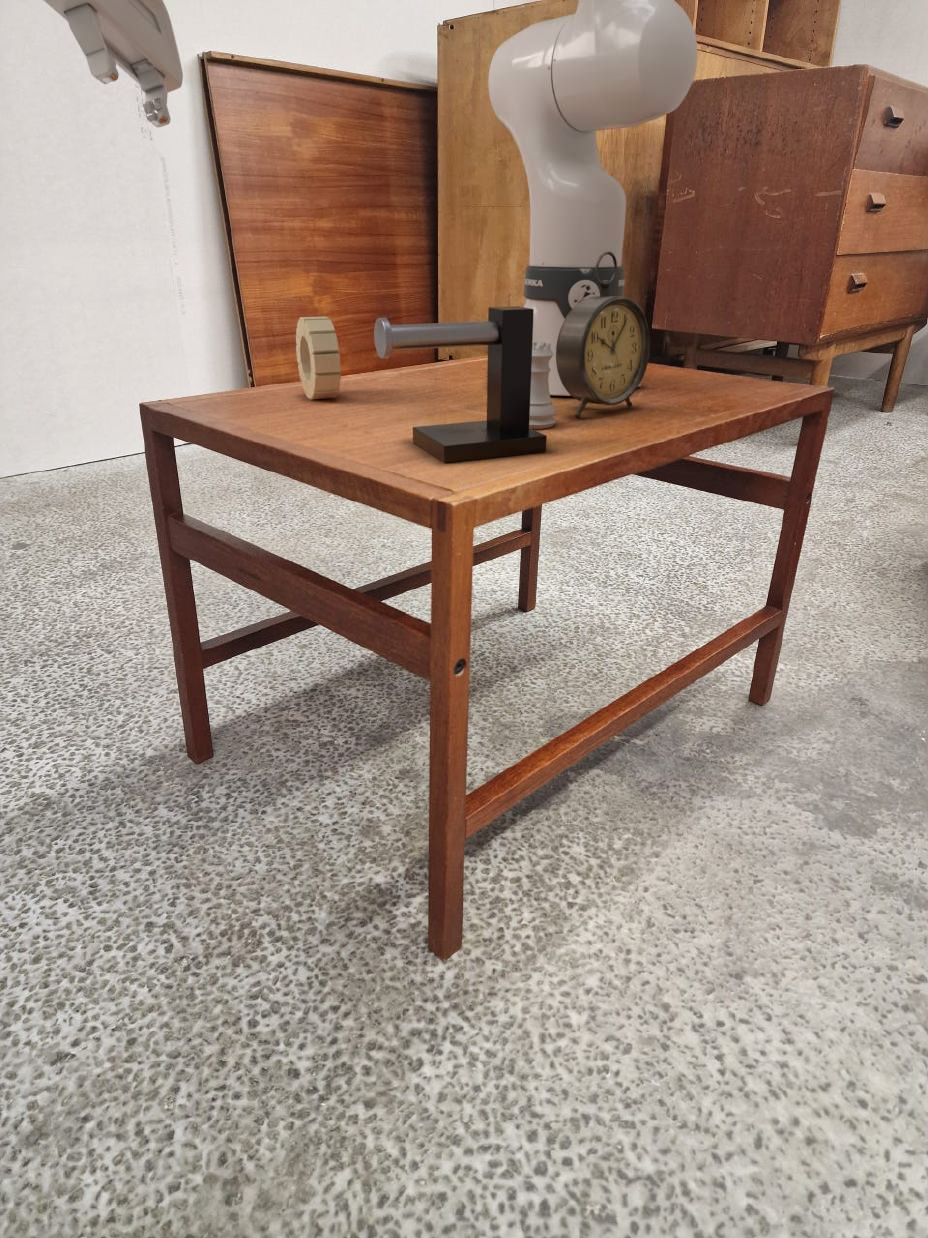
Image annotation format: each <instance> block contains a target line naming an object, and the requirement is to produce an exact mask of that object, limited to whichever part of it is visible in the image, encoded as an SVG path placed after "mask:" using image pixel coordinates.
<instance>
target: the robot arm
mask: <svg viewBox="0 0 928 1238" xmlns="http://www.w3.org/2000/svg"><path fill="white" fill-rule="evenodd" d="M43 2H45V3H46V4H47V5H48V6H49V7H50V8H52V10H54V11H55V12H56V13H57V14H58V15H60V16H61V17H62V18H63V19H64V21H66V22H67V23H68V26H69V29H70V31H71V32H72V33H71V34H73V36H74V38H75V40H76V42H77V44H78V45H79V47H80V49H81V51H82V53H83V55H84V56H85V59H86V62H87V66H88V69H89V72H90V74H91V76H92V77H94V78H95V79H96V80H98V81H99V82H100V83H102V84H103V85H107V84H109V83H112V82H113V83H114V82H116V81H117V80H119V71H118V68H117V66H118V67H119V68H120V69H121V70H122V71H123V72H125V73H126V74H127V76H129V77H130V78H131V79H132V80H134V81H135V83H137V84H138V85H139V86H140V89H141V91H142V92H143V93H144V99H145V102H143V103H142V106H143V107H142V108H143V110H144V112H145V117H146V120H147V121H148V122H150V123H151V124H152V125H153V126H154V127H156V128H157V129H159V128H162V127H165V126H168V125H169V124H170V123H171V120H172V119H171V116H170V112H169V108H168V95H169V93H171V92H173V91H176V90H179V89H180V88H181V87H182V86H183V78H184V75H183V67H182V63H181V59H180V53H179V48H178V44H177V40H176V36H175V31H174V28H173V24H172V21H171V17H170V14H169V12H168V9H167V6H166V4H165V2H164V0H43ZM697 41H698V40H697V35H696V32H695V28H694V26H693V23H692V21H691V19H690V17H689V15H688V13H687V12H686V10H684V8H682V6H681V5H680V4H679V3H678V2H677V1H675V0H577V7H576V11H575V13H571V14H568V15H564V16H559V17H556V18H555V17H554V18H552V19H547V20H543V21H539V22H536V23H532V24H530V25H528V26H527V27H525V28H524V29H522V30H520V31H519V32H516V33H515V34H514V35H512V36H511V37H509V38H508V39H506V40H505V41H503V42H502V43H501V44H500V45H499V46H498V47H497V49H496V51H495V52H494V54H493V57H492V59H491V62H490V66H489V69H488V70H489V71H488V79H487V81H488V82H487V83H488V85H487V86H488V95H489V99H490V103H491V107H492V110H493V112H494V114H495V116H496V118H497V119H498V121H499V122H500V123H501V125H503V127H505V128H506V130H507V131H508V133H510V135H511V136H512V138H513V140H514V142H515V144H516V147H517V149H518V152H519V154H520V157H521V160H522V161H521V162H522V164H523V169H524V173H525V176H526V181H527V186H528V197H529V253H528V254H529V255H528V256H529V257H528V260H529V261H528V265H527V266H526V267H525V273H524V277H523V294H522V295H523V297H524V298H525V300H524V302H523V306H522V307H525V308H531V309H534V315H533V341H532V342H537V346H539V345H540V344H541V342H545V343H550V344H551V345H550V349H551V350H552V352H553V353H554V355H553V356H552V358H551V359H550V360H549V368H550V369H551V370H550V372H549V376H548V382H549V393H550V396H562V397H563V396H565V397H566V396H567V397H570V396H571V395H570V394H569V393H568V392H567V390H566V389H565V388H564V386H563V384H562V382H561V380H560V377H559V374H558V370H557V365H556V345H557V340H558V335H559V332H560V329H561V326H562V324H563V322H564V320H565V318H566V317H567V315H568V314H569V312H570V311H571V310H572V309H573V308H574V307H575V306H576V305H577V304H578V303H579V302H581V301H583V300H584V299H587V298H590V297H596V296H600V293H601V286H600V284H599V283H598V281H597V279H596V276H595V267H596V263H597V260H598V258H599V257H600V255H601V254H602V253H603V252H605V251H611V252H612V253H613V254H614V255H615V257H616V261H617V271H616V275H615V278H614V280H613V281H612V282H611V283H610V285H609V287H608V289H609V296H624V290H625V289H624V288H625V286H626V278H625V274H626V273H625V271H626V270H625V269H626V268H624V267H623V266H622V263H623V253H624V252H623V251H624V241H625V240H624V239H625V229H626V228H625V227H626V215H627V213H626V212H627V201H628V200H627V196H626V192H625V190H624V188H623V186H622V184H621V183H620V182H619V180H618V179H616V178H615V177H614V176H612V175H611V174H610V173H608V172H607V171H606V170H605V168H604V166H603V163H602V161H601V158H600V155H599V150H598V143H597V131H606V130H616V129H624V128H634V127H638V126H640V125H643V124H646V123H648V122H651V121H654V120H656V119H658V118H661V117H663V116H666V115H668V114H670V113H672V112H674V111H675V110H677V109H678V108H679V107H680V105H682V103H683V102H684V100H685V99H686V97H687V95H688V93H689V91H690V90H691V87H692V85H693V81H694V79H695V75H696V71H697V65H698V42H697ZM613 272H614V262H613V258H612V257H611V256H610V255H609V254H606V255H605V256H603V257H602V259H601V261H600V263H599V267H598V277H599V280H600V281H601V282H602V281H603V280H608V281H610V279H611V278H612V276H613ZM641 386H642V381H641V382H640V384H639V386H638V387H639V388H640V387H641ZM638 387H637V388H638ZM571 397H572V396H571Z"/></svg>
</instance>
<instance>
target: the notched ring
mask: <svg viewBox="0 0 928 1238" xmlns="http://www.w3.org/2000/svg"><path fill="white" fill-rule="evenodd" d="M295 330H296V331H295V344H296V345H295V351H296V362H297V364H298V365H297V369H298V374H299V379H300V382H301V386H302V389H303V392H304V395H306V396H305V397H306V398H308V399H309V400H310V401H311V400H325V399H326V400H327V399H336V398H337V396H338V394H339V393H340V388H341V379H342V375H341V373H342V367H341V366H342V365H341V354H340V346H339V341H338V336H337V333H336V329H335V326H334V324H333V322H332V320H331V319H330V317H328V316H323V315H322V316H303V317H302V316H300V317H299V319H298V320H297V324H296V329H295Z"/></svg>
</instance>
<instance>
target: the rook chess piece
mask: <svg viewBox="0 0 928 1238" xmlns="http://www.w3.org/2000/svg"><path fill="white" fill-rule="evenodd" d="M550 345H551V344H550V343H545V342H541V344H540V345H539V346H537V342H532V367H531V394H530V420H529V428H530V429H533V430H543V429H549V428H552V427H554V425H555V424H556V422H557V419H556V418H555V417H554V416H555V414H556V413H557V410H556V409H557V408H556V407H555V406H554V404H553V400H552V399H551V395H550V393H549V382H548V376H549V372H550V370H551V369H550V368H549V360H550V359H551V358H552V356H553V355H554V353H553V352H552V350H551V349H550Z"/></svg>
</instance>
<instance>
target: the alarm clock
mask: <svg viewBox="0 0 928 1238" xmlns="http://www.w3.org/2000/svg"><path fill="white" fill-rule="evenodd" d="M606 254H609V255H610V256H611V257H612V258H613V262H614V272H613V276H612V278H611V279H610V281H608V280H603V281H602V282H601V281H600V280H599V277H598V267H599V263H600V261H601V259H602V257H603V256H605V255H606ZM616 271H617V261H616V257H615V255H614V254H613V253H612V252H611V251H605V252H603V253H602V254H601V255H600V257H599V258H598V260H597V263H596V267H595V276H596V279H597V281H598V283H599V284H600V286H601V293H600V296H596V297H590V298H587V299H584V300H583V301H581V302H579V303H578V304H577V305H576V306H575V307H574V308H573V309H572V310H571V311H570V312H569V314H568V315H567V317H566V318H565V320H564V322H563V324H562V326H561V329H560V332H559V335H558V340H557V345H556V365H557V370H558V374H559V377H560V380H561V382H562V384H563V386H564V388H565V389H566V390H567V392H568V393H569V394H570V395H571V397H572V398H573V399H575V400H576V401H578V402H579V404H578V407H577V411H576V412H575V413H574V418H575V419H580V418H581V416H582V414H581V413H583V411H584V410H585V408H586V406H587V404H588V403H589V404H595V405H604V406H609V407H610V406H616V405H620V404H621V403H622V404H623V402H625V403H626V406H627V407H628V408H632V407H633V402H632V401H631V399H630V398H631V396H633V394H634V392H636V390H637V389H638V386H639V384H640V382H641V383H642V380H643V379H644V377H645V373H646V371H647V367H648V365H649V364H648V363H649V359H650V351H651V336H650V329H649V324H648V321H647V318H646V316H645V313H644V312H643V310H642V308H641V307H640V305H639V304H638V303H637V302H636V301H634V300H633V299H631V298H630V297H628V296H624V295H623V296H609V289H608V287H609V285H610V283H611V282H612V281H613V280H614V278H615V275H616ZM639 387H640V386H639Z"/></svg>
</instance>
